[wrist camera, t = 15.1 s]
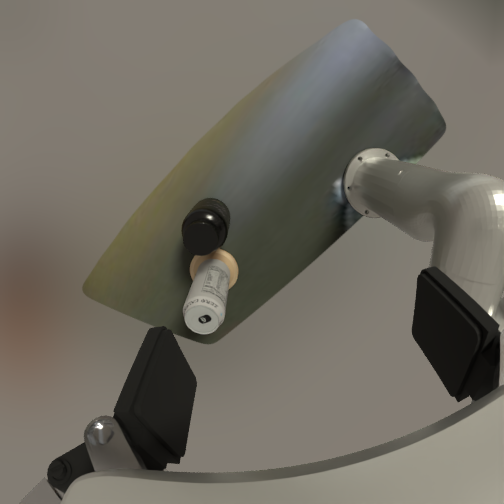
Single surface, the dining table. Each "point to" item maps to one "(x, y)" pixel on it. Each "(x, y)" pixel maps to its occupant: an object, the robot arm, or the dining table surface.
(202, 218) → the supplement bottle
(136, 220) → the dining table surface
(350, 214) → the dining table surface
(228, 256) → the coaster
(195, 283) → the energy drink can
